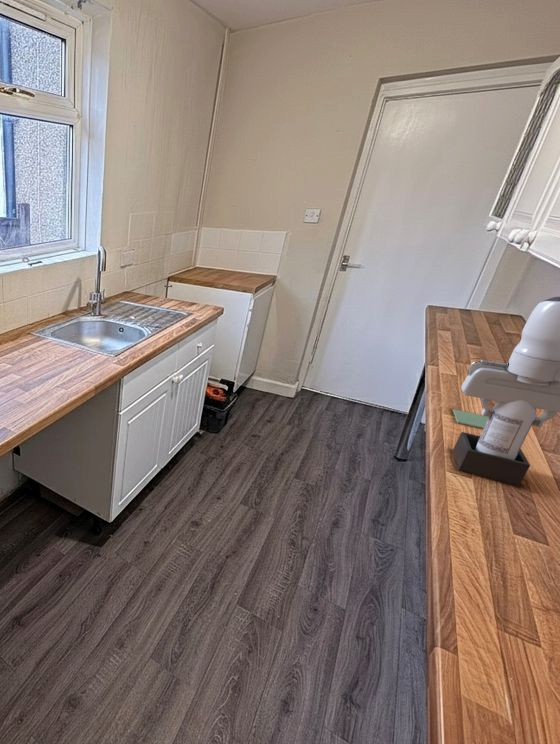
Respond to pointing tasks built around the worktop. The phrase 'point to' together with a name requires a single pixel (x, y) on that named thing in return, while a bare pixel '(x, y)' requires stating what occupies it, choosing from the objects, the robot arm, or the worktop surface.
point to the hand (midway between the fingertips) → (510, 420)
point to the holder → (488, 461)
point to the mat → (470, 418)
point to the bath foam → (506, 429)
